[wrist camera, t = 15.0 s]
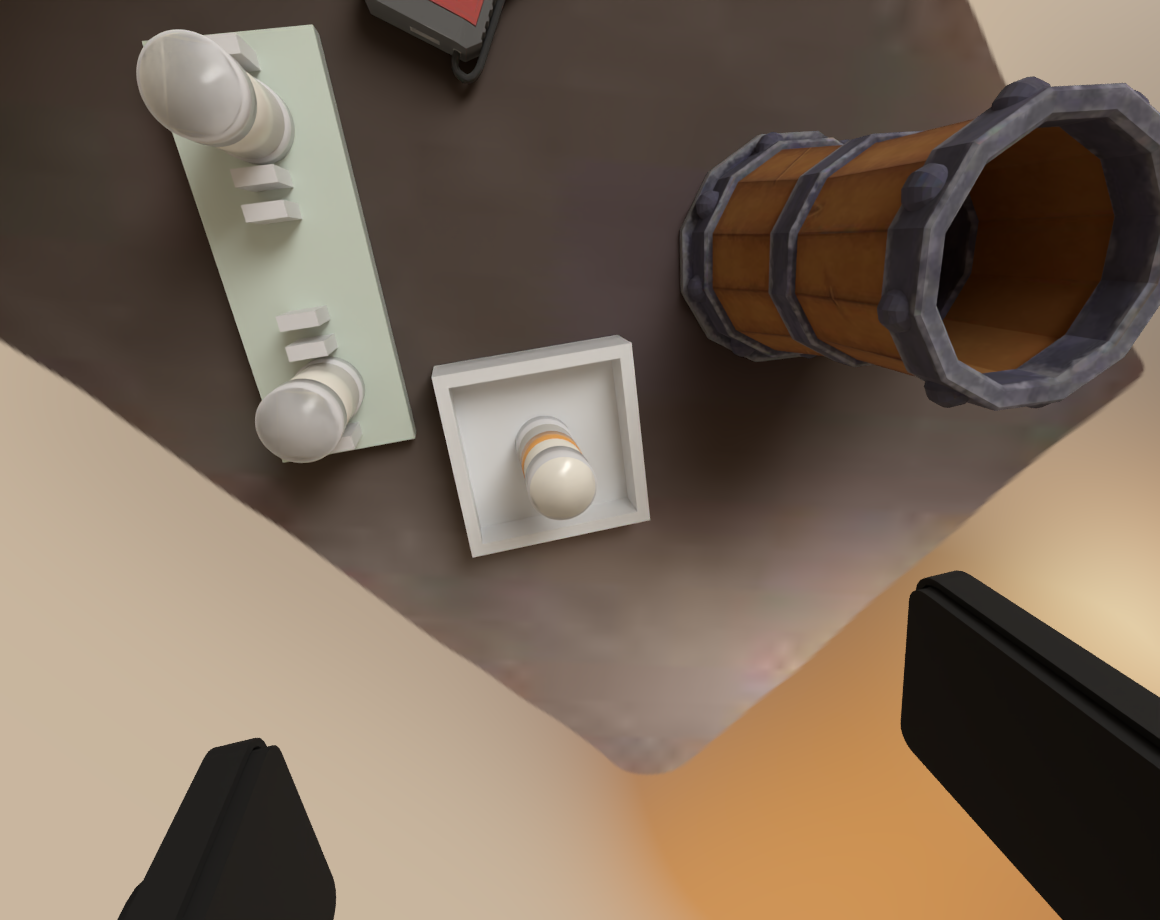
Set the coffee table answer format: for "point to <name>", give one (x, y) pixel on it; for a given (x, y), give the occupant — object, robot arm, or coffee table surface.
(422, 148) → the coffee table surface
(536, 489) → the marked fuse
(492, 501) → the tray
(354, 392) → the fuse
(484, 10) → the red flat piece
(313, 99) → the board
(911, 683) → the robot arm
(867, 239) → the mug
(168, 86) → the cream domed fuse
